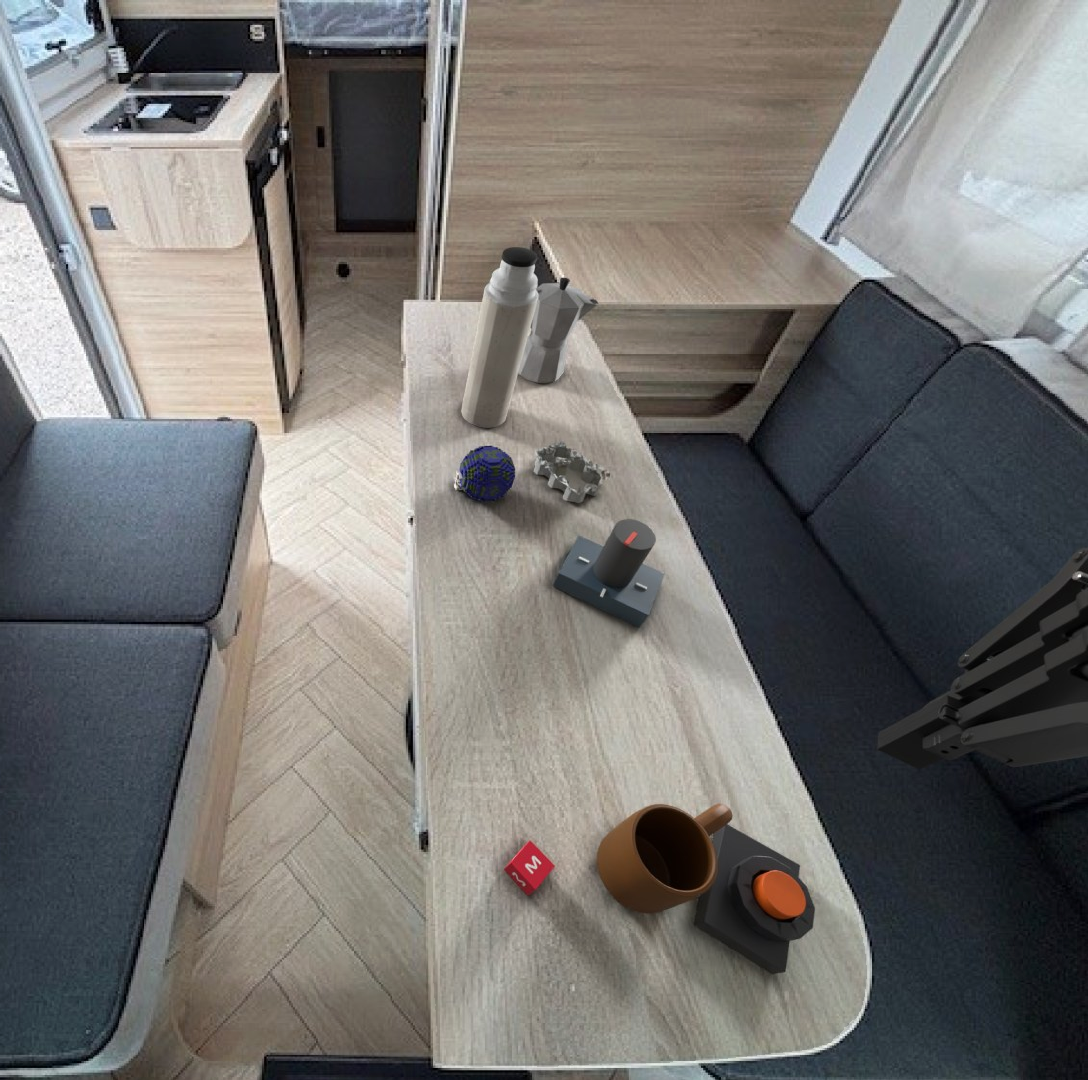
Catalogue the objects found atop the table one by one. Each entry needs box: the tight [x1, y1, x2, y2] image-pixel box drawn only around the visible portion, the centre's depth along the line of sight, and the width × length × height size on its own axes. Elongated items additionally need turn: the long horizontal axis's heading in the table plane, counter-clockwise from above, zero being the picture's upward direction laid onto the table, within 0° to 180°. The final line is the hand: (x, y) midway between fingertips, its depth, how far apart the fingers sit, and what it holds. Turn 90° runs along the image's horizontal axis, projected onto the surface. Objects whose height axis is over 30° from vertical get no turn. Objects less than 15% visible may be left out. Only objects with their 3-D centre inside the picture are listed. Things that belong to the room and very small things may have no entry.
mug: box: [596, 803, 734, 915], centre depth 55 cm, size 12×8×9 cm, turn 118°
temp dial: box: [593, 518, 657, 588], centre depth 75 cm, size 5×5×8 cm
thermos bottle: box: [461, 246, 539, 429], centre depth 94 cm, size 8×8×28 cm
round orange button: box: [753, 871, 806, 919], centre depth 53 cm, size 4×4×2 cm
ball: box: [453, 445, 516, 502], centre depth 89 cm, size 8×8×8 cm
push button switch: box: [692, 823, 816, 975], centre depth 55 cm, size 8×10×4 cm
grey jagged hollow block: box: [533, 441, 611, 504], centre depth 92 cm, size 11×8×4 cm
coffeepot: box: [518, 276, 599, 384], centre depth 107 cm, size 15×9×18 cm, turn 75°
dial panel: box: [552, 534, 666, 629], centre depth 79 cm, size 12×9×3 cm
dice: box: [503, 839, 556, 896], centre depth 57 cm, size 3×3×3 cm
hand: (898, 750), depth 43 cm, fingers closed
